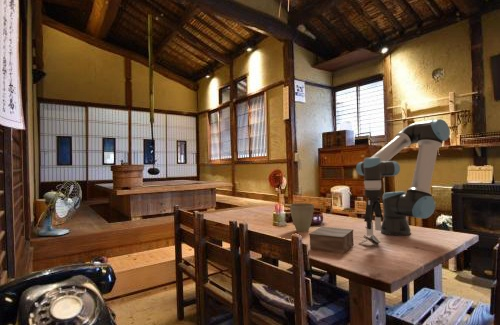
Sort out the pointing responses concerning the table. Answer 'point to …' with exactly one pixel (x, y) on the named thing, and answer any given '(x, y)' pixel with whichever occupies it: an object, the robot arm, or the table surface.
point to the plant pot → (302, 216)
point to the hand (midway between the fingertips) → (374, 232)
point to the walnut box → (331, 240)
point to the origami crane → (371, 240)
